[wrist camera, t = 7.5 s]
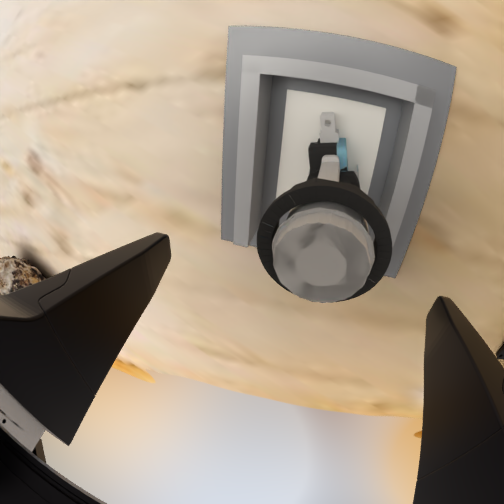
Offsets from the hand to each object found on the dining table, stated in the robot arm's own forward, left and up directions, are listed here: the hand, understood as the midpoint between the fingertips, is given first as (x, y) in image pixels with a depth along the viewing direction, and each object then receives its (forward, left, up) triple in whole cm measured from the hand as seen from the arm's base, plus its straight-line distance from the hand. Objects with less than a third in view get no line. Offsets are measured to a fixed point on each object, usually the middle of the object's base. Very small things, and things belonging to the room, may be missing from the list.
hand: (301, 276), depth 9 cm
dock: (0, 0, -12) cm, 12 cm away
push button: (0, 0, -12) cm, 12 cm away
